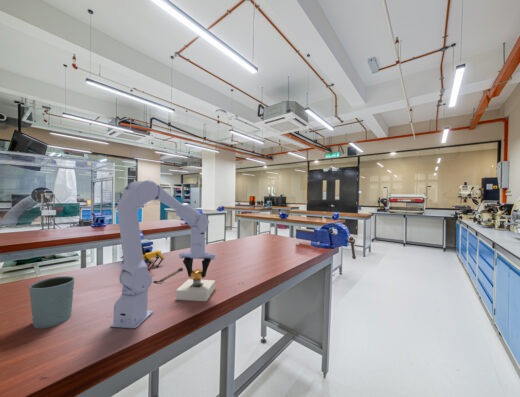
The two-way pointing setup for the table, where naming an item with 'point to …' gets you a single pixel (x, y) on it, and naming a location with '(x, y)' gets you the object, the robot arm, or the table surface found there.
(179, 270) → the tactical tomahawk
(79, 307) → the table surface
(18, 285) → the table surface
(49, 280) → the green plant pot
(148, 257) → the robot dog
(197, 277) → the brass door knob
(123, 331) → the table surface
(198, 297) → the pin block
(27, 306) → the table surface
